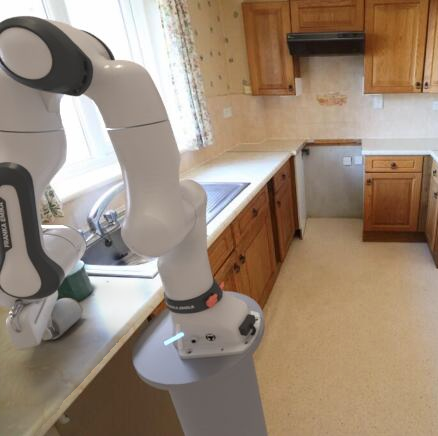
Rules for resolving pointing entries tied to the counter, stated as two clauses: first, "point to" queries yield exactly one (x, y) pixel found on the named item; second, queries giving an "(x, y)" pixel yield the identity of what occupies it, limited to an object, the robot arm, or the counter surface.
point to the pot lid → (76, 269)
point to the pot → (75, 286)
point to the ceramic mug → (65, 315)
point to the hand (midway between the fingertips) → (49, 335)
